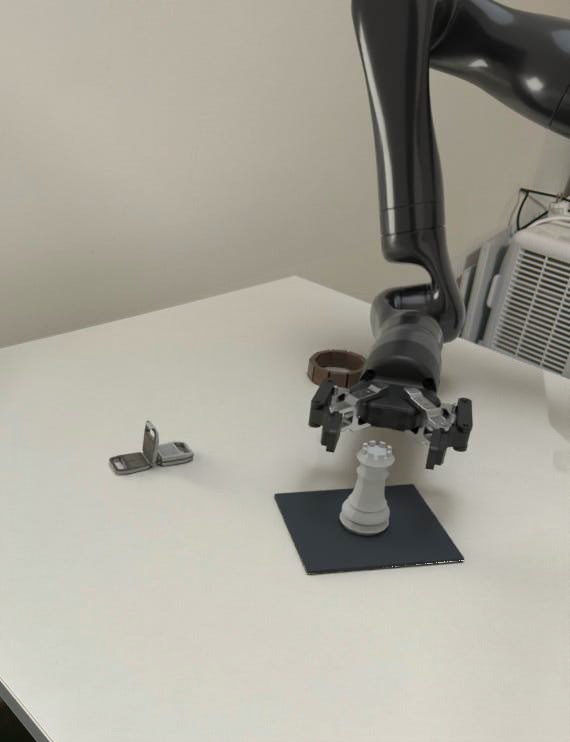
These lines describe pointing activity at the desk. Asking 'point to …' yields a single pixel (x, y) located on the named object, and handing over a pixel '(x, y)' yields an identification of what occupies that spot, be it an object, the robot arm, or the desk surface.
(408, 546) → the mat
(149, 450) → the strap clip
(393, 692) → the desk surface
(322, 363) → the brown segmented bracelet
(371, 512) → the rook chess piece
